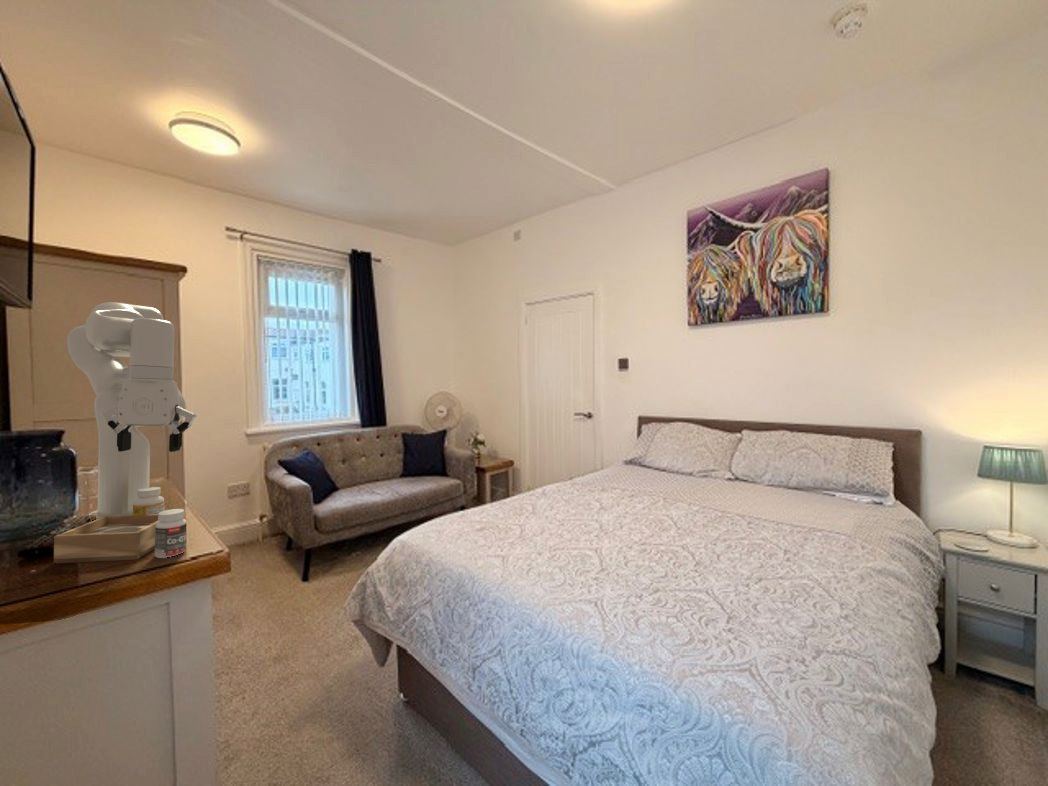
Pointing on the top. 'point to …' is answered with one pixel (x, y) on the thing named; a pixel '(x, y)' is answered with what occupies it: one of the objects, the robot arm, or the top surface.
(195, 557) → the top surface
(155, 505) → the supplement bottle
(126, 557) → the oak box
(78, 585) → the top surface
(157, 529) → the pill bottle
